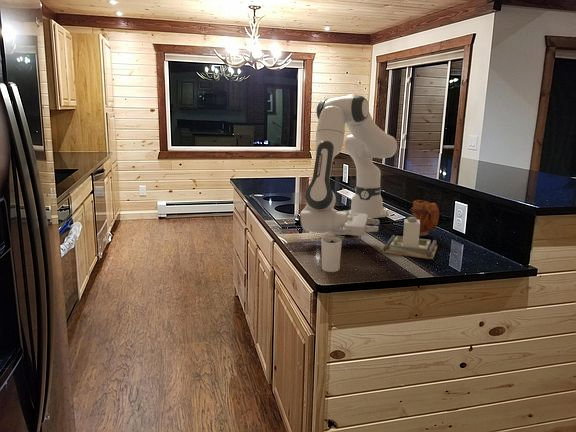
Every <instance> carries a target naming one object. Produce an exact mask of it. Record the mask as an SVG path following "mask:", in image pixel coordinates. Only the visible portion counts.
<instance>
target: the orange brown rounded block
mask: <svg viewBox="0 0 576 432" xmlns="http://www.w3.org/2000/svg"><path fill="white" fill-rule="evenodd" d="M409 211H410V212H411V217H416V218H417V220H420V232H419V237H425V236H428V235H429V231H431V230H434V229H435V228H436V227H437V226H438V224H439V219H440V210H439V208H438V205H437V204H436V202H429V201H427V200H422V199H416V200H413V204H412V207H410V209H409ZM429 218H430V219H429Z"/></svg>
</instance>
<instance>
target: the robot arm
mask: <svg viewBox="0 0 576 432" xmlns="http://www.w3.org/2000/svg"><path fill="white" fill-rule="evenodd" d="M316 117H317V120H318V122H317V126H316V131H315V134H316V135H315V160H314V167H313V175H312V178H311V181H310V183H309V185H308V186H307V188H306V190H305V201H306V202H307V204H306V205H305V207H304V208H303V209H302V210H301V211H300V213H299V220H300V221H299V222H300V225H301V227H302V229H303V230H304V231H306V232H308V233H309V232H310V233H317V234H325V233H327V234H332V235H335V234H341V235H346V234H348V235H355V236H358V237H364V236H365V235H366V233H372V232H379V225H380V222H381V221H380V220H379V219H378V218H387V207H385V206H383V200H384V199H383V197H382V195H381V193H382V189H381V169H380V168H379V166H377V165H376V164H374V163H373V161H372V158H373V159H375V158H376V159H387V158H393V156H395V154H396V152H397V150H398V142H397V140H396V138H395V137H394V136H392V135H390V134H388V133H386V132H385V131H384V130H383V129H381V128H380V127H379V126H378V125H377V124H376V123H375V121H374V119H373V117H372V114H371V113H370V105H369V101H368V100H367V98H366V97H365V96H362V95H359V94H357V93H349V94H347V95H344V96H338V97H331V98H326V99H322V100H320V102H318V104H317V106H316ZM346 125H347V128H348V130H349V132H350V134H348V135H347V136H346V138H345V134H346V133H345V131H346V130H345V129H346V128H345V127H346ZM343 144H344V145H343ZM343 146H344V149H345V152H346V153H347V154H348V155H349V156H350V158H351V159H352V161H353V163H354V165H355V170H356V185H355V188H354V190H355V194H354V195H353V196H352V197H351V203H350V204H351V205H350V209H347V210H346V209H345V210H334V208H335V206H336V205H335V204H336V200H337V199H336V198H337V197H336V194H335V193H334V192H333V189H332V187H331V180H330V179H331V175H332V174H331V173H332V167H333V166H332V165H333V161H334V158H335V157H336V156H338V155H339V154H341V151H342V148H343ZM371 225H373V226H371Z"/></svg>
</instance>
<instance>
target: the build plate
mask: <svg viewBox="0 0 576 432" xmlns="http://www.w3.org/2000/svg"><path fill="white" fill-rule="evenodd" d="M335 236H336V238H338V237H337V236H345V237H344V238H355V239H358V238H359V236H355V235H348V234H346V235H341V234H334V237H335Z"/></svg>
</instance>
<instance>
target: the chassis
mask: <svg viewBox="0 0 576 432" xmlns="http://www.w3.org/2000/svg"><path fill="white" fill-rule="evenodd" d="M431 242H432V243H431ZM437 243H438V242H437V240H436V239H433V240H431V239H427V238H424V239H423V238H419V245H418V248H415V247H407V246H403V235H402V236H401V235H395V234H393V235H391V237H390V238H389V240H388V241H387V242H386V244H385V245H384V246H383V247H382V251H381V253H384V254H390V255H391V254H392V255H400V256H406V257H413V258H421V259H429V260H434V257H435V255H436V252H437V249H438V244H437Z"/></svg>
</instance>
